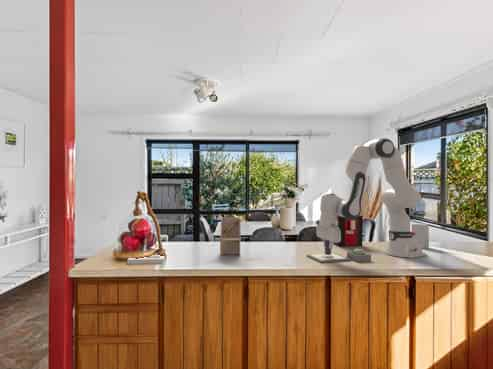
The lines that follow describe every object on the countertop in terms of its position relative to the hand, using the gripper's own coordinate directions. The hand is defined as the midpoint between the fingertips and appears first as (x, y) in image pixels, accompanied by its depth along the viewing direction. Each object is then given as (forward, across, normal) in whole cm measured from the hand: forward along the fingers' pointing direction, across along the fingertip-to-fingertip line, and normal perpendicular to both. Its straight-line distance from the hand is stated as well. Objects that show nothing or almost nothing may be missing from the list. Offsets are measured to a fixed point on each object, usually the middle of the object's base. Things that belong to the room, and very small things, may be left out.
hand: (328, 247), depth 191 cm
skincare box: (+6, +11, -75) cm, 76 cm away
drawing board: (+6, 0, 0) cm, 6 cm away
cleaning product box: (+6, +31, -34) cm, 46 cm away
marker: (+4, 0, 0) cm, 4 cm away
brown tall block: (+7, +25, +50) cm, 56 cm away
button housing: (+6, -7, -15) cm, 18 cm away
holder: (+7, +39, +92) cm, 101 cm away
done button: (+4, -7, -15) cm, 17 cm away
